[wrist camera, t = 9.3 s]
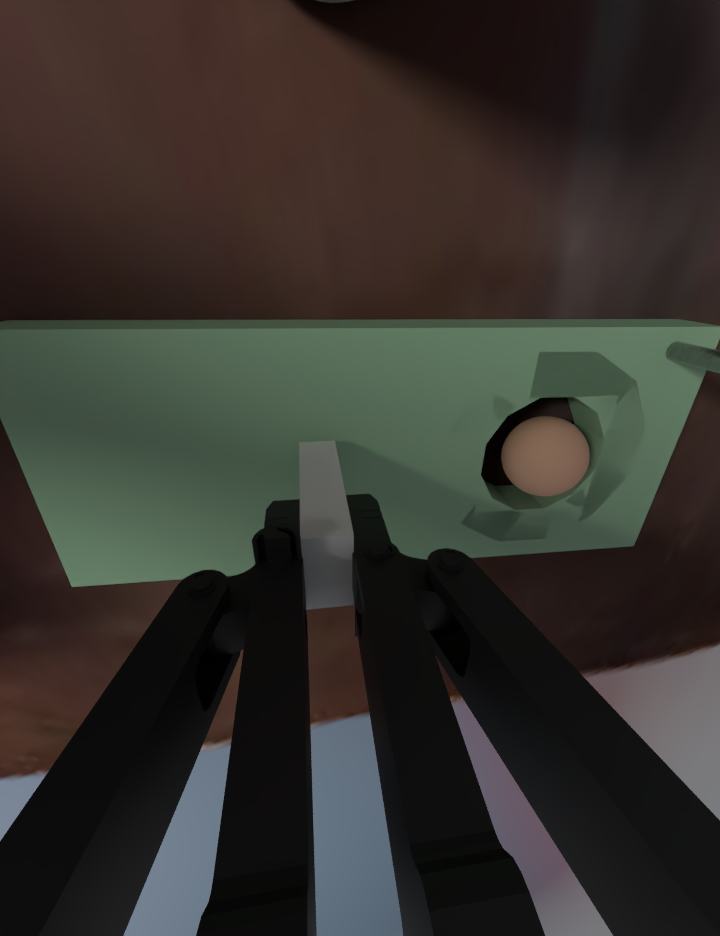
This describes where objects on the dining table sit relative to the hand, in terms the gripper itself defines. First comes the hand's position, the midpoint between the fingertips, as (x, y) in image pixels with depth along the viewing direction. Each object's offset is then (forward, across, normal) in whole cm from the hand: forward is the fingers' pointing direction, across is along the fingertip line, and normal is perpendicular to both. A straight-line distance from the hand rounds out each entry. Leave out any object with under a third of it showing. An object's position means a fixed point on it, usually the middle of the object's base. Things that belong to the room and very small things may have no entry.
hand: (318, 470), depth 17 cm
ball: (+1, +11, -1) cm, 11 cm away
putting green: (+3, +3, 0) cm, 4 cm away
